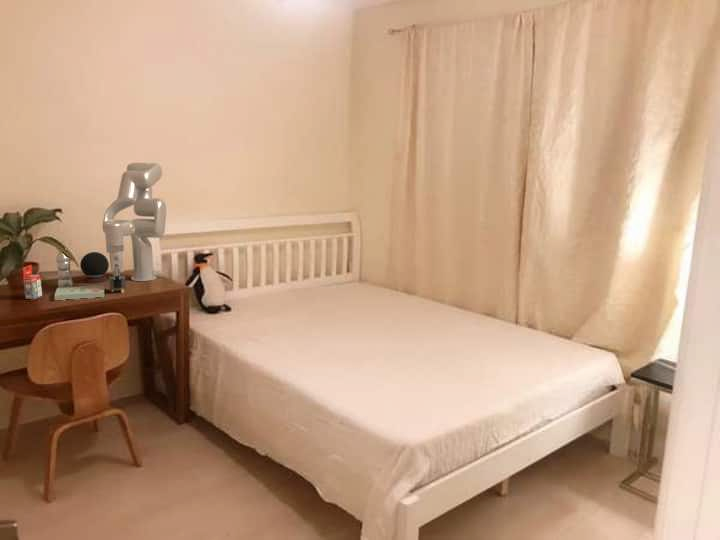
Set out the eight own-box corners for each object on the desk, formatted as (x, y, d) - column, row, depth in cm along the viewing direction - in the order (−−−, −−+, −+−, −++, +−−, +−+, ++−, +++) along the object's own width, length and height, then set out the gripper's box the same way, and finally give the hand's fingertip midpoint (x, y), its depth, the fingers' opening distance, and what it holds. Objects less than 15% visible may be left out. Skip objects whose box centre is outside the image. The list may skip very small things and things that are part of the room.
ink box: (42, 295, 257) (39, 264, 254) (33, 300, 249) (30, 268, 246) (34, 295, 257) (31, 264, 254) (25, 300, 249) (21, 267, 246)
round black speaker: (82, 279, 290) (80, 250, 287) (110, 277, 296) (108, 249, 292) (80, 284, 279) (78, 255, 276) (109, 282, 284) (107, 253, 281)
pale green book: (104, 289, 270) (103, 283, 269) (104, 297, 256) (103, 290, 255) (57, 293, 261) (56, 286, 261) (54, 301, 248) (54, 293, 247)
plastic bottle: (74, 286, 274) (70, 246, 270) (72, 289, 268) (68, 248, 264) (59, 287, 272) (55, 246, 268) (57, 290, 266) (53, 249, 262)
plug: (125, 290, 270) (124, 276, 268) (126, 292, 265) (125, 278, 264) (110, 291, 267) (108, 277, 265) (110, 293, 262) (109, 279, 261)
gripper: (124, 251, 256) (126, 289, 259) (123, 245, 271) (125, 281, 275) (106, 252, 253) (109, 291, 256) (106, 246, 268) (109, 283, 272)
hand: (117, 285), depth 266 cm, fingers closed on plug, 5 cm apart
